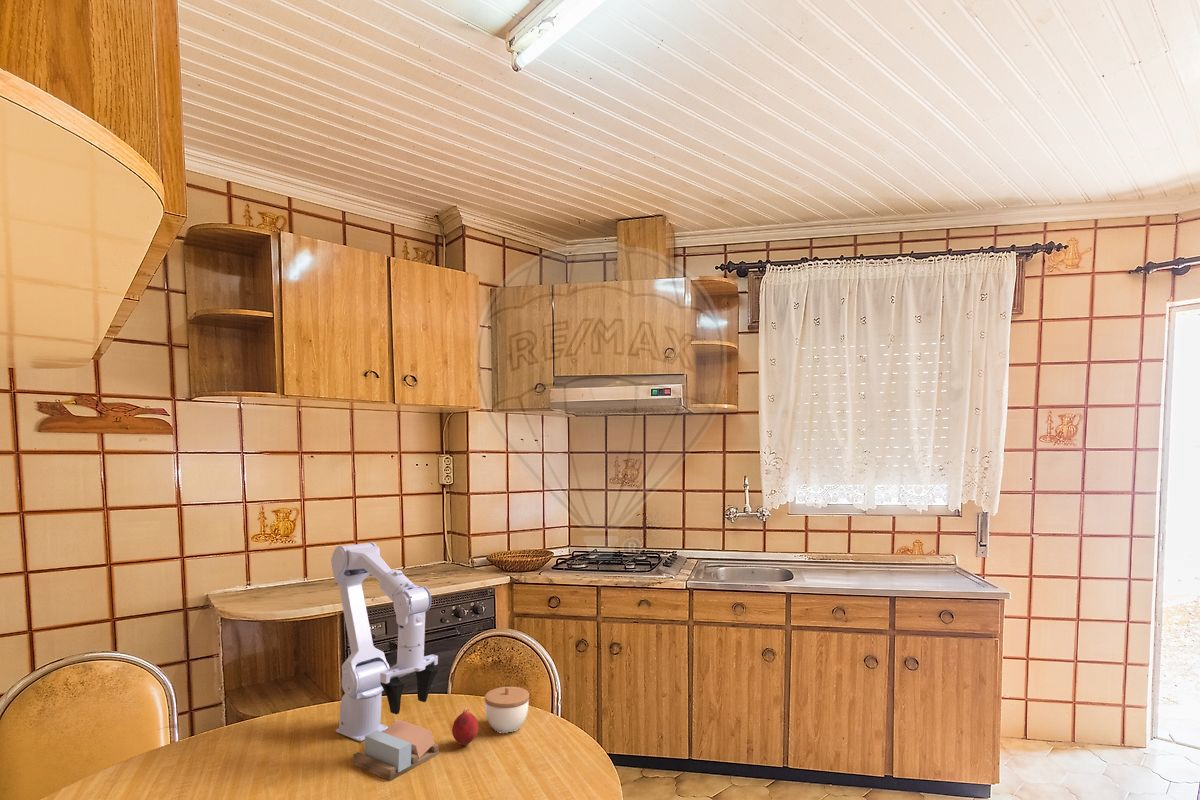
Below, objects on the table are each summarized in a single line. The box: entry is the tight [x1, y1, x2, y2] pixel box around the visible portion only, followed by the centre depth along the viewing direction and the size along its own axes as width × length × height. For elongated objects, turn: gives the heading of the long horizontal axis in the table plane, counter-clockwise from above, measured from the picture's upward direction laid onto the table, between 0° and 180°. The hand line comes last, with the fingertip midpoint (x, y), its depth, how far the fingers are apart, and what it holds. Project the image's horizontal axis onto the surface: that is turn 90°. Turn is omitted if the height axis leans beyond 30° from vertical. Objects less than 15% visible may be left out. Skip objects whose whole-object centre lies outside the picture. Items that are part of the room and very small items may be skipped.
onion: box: [451, 707, 479, 747], centre depth 136 cm, size 6×6×8 cm
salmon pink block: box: [383, 718, 435, 758], centre depth 132 cm, size 11×3×4 cm
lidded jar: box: [484, 686, 530, 734], centre depth 145 cm, size 11×11×9 cm
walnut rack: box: [352, 742, 440, 782], centre depth 129 cm, size 12×13×2 cm
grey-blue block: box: [363, 730, 412, 772], centre depth 127 cm, size 11×3×4 cm, turn 58°
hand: (408, 706), depth 133 cm, fingers open, 7 cm apart
